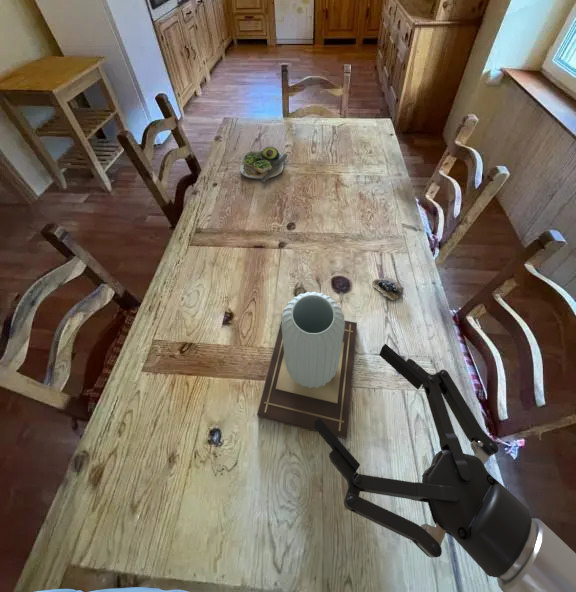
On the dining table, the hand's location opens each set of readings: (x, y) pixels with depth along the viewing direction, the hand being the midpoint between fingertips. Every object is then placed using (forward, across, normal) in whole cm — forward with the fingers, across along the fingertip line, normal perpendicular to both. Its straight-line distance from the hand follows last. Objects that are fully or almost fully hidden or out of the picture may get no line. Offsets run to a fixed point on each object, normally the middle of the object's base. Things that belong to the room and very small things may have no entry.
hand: (351, 383), depth 46 cm
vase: (+13, +6, -28) cm, 31 cm away
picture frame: (+13, +6, -29) cm, 33 cm away
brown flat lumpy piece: (+13, +35, -30) cm, 47 cm away
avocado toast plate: (+78, +46, -30) cm, 95 cm away
